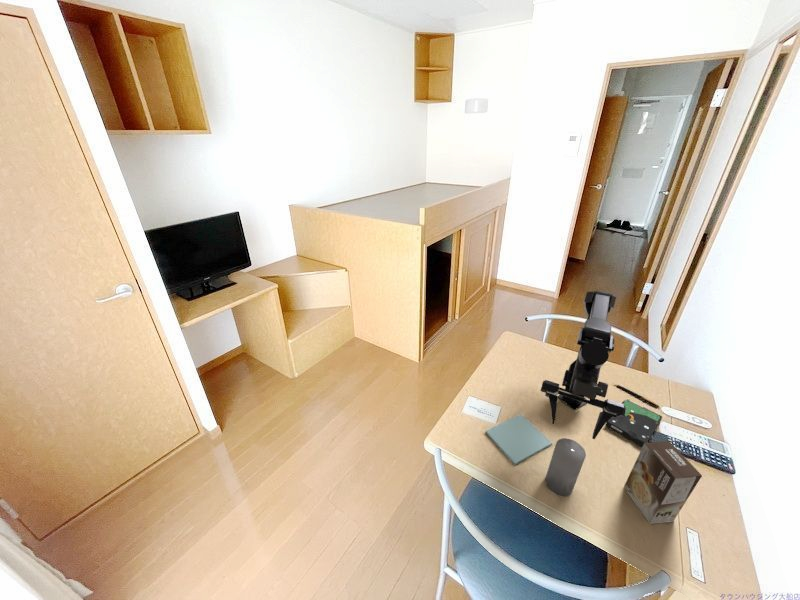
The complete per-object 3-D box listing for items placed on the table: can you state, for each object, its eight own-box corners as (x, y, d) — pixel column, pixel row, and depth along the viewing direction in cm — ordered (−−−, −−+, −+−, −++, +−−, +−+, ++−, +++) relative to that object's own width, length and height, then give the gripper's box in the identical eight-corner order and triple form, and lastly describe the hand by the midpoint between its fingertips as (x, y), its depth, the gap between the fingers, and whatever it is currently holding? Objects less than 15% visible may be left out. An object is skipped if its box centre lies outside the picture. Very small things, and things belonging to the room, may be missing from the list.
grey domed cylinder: (556, 468, 87) (568, 434, 81) (578, 489, 82) (591, 454, 76) (539, 479, 84) (549, 444, 78) (560, 501, 79) (573, 466, 73)
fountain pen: (611, 385, 115) (612, 381, 114) (612, 383, 116) (613, 380, 115) (658, 409, 105) (660, 406, 104) (659, 408, 105) (661, 404, 105)
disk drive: (643, 450, 92) (660, 422, 100) (646, 443, 91) (663, 415, 99) (604, 427, 99) (622, 403, 107) (606, 421, 98) (625, 397, 106)
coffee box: (675, 521, 75) (705, 477, 67) (649, 524, 74) (676, 479, 67) (645, 483, 83) (669, 439, 75) (621, 485, 82) (643, 442, 75)
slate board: (520, 415, 103) (520, 413, 102) (551, 444, 93) (552, 442, 93) (485, 432, 97) (485, 430, 97) (514, 465, 88) (515, 463, 87)
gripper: (549, 355, 83) (533, 416, 79) (637, 379, 74) (623, 448, 71) (548, 362, 92) (533, 417, 89) (625, 385, 84) (613, 446, 81)
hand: (572, 431), depth 82 cm, fingers open, 9 cm apart
